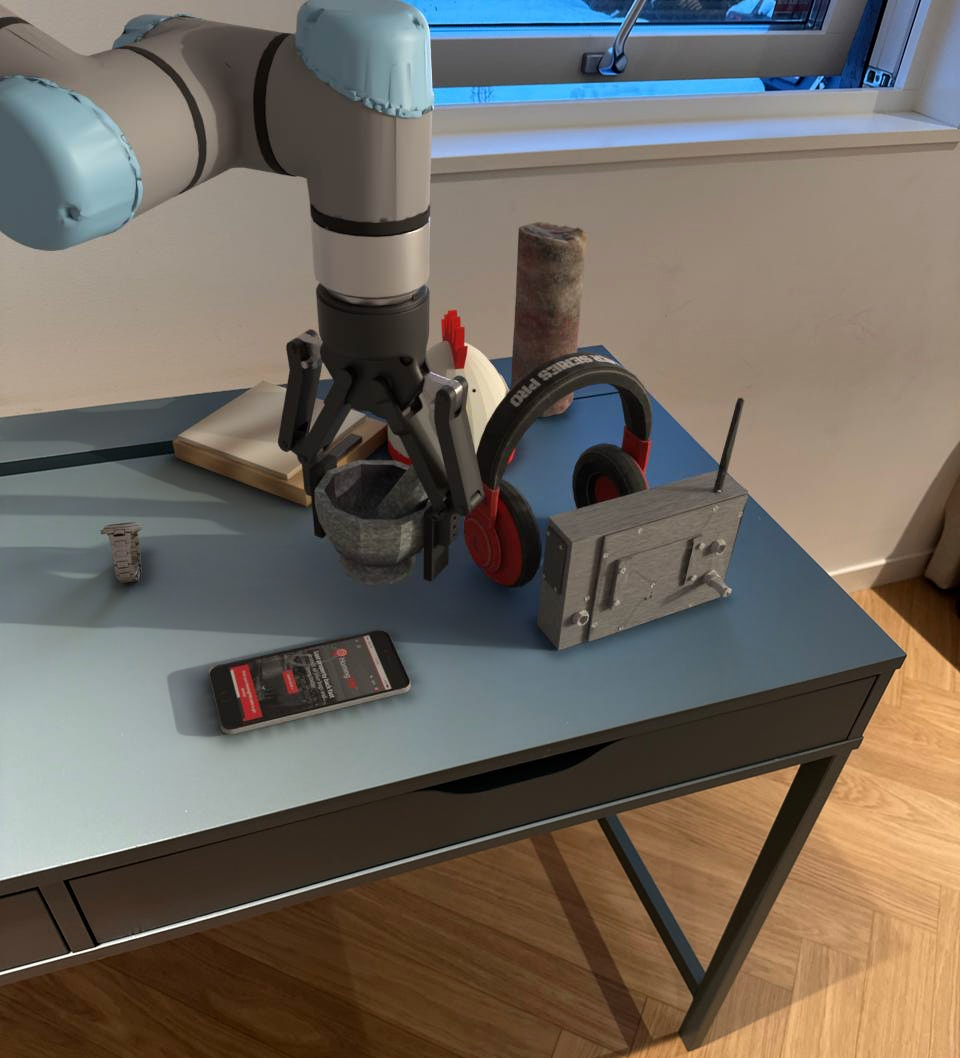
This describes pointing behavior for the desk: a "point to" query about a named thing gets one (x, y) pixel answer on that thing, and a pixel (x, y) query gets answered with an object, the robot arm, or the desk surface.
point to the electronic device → (640, 554)
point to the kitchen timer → (474, 367)
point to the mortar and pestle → (373, 518)
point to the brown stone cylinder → (547, 299)
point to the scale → (269, 442)
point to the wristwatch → (125, 550)
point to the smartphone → (307, 681)
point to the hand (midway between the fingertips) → (380, 549)
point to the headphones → (599, 475)
